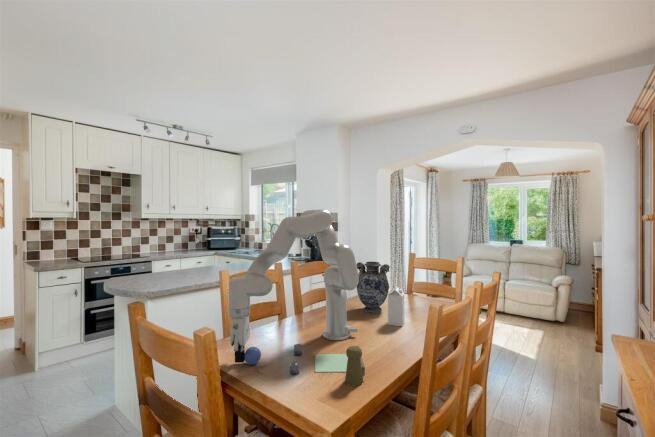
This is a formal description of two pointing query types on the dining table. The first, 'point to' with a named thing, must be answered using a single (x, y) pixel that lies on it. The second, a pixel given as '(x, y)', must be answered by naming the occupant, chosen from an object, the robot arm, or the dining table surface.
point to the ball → (252, 355)
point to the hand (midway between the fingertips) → (239, 361)
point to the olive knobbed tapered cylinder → (354, 366)
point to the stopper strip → (362, 366)
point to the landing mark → (331, 363)
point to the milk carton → (396, 307)
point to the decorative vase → (372, 285)
